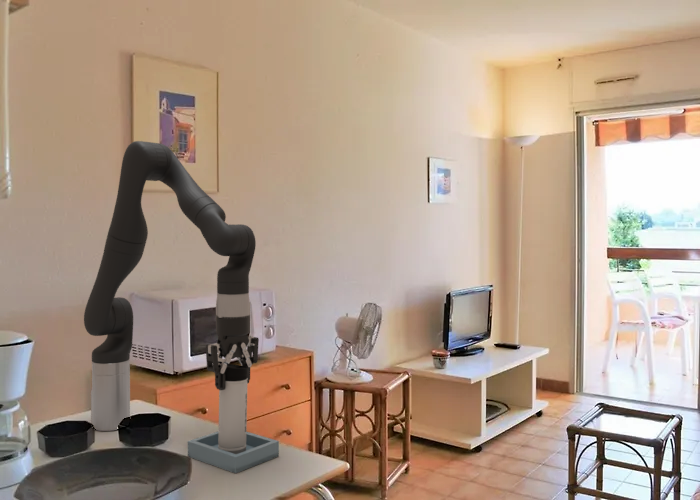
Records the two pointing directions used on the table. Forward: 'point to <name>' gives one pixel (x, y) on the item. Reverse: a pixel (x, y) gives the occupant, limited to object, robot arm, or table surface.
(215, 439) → the slate tray
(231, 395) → the travel mug
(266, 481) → the table surface
